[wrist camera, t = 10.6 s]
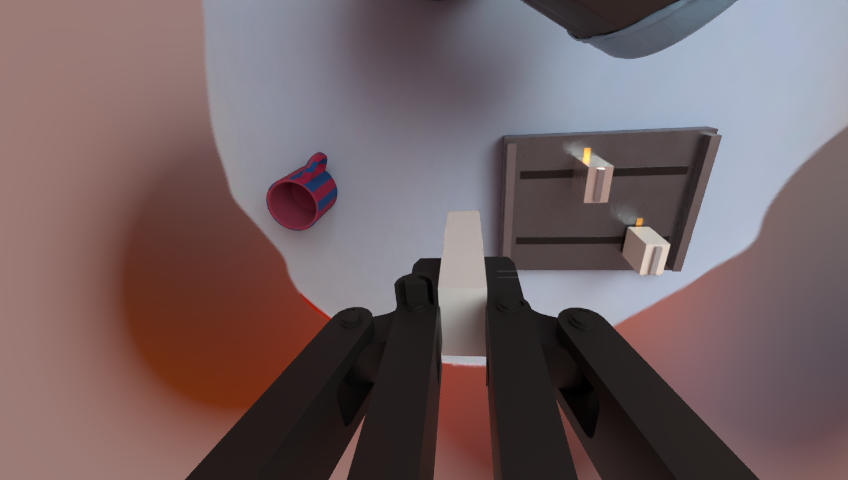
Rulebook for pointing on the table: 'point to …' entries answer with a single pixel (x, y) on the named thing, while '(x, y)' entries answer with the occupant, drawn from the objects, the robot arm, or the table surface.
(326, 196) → the mug
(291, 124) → the table surface
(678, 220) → the console
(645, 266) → the fader tab
